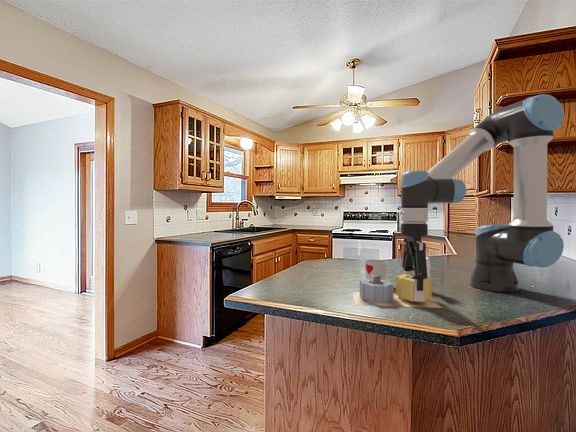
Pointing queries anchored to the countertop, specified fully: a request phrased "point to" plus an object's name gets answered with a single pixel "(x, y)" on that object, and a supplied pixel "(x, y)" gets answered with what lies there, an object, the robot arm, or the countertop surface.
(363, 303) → the gear board
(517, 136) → the robot arm
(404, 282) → the gear
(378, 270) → the cup
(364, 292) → the gear
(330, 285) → the countertop surface
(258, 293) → the countertop surface
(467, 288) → the countertop surface
